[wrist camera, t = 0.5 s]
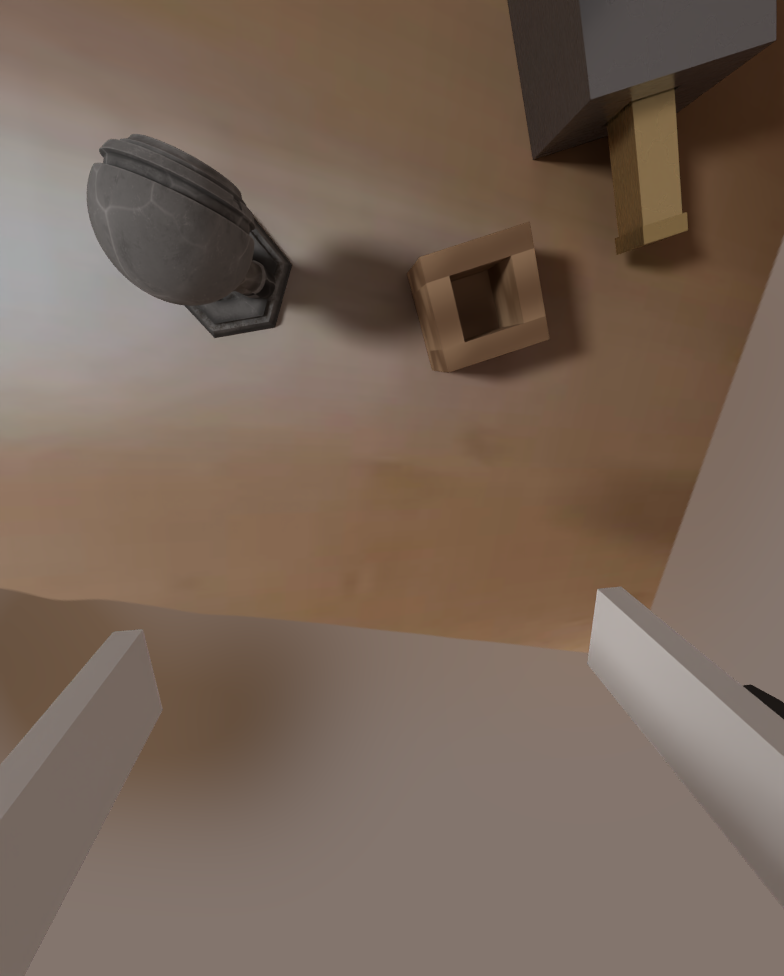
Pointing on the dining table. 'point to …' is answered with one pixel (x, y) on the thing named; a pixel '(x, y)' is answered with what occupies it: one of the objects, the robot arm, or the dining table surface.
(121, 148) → the figurine
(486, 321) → the open box
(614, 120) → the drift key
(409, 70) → the dining table surface
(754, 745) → the robot arm
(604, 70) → the socket
